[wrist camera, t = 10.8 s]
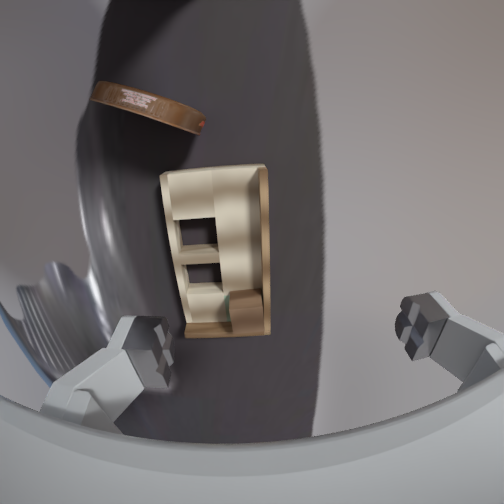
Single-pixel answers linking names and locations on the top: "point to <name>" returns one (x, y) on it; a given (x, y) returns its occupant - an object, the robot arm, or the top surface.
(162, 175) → the board
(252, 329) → the walnut block
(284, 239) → the top surface
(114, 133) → the top surface
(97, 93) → the tin
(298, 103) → the top surface
